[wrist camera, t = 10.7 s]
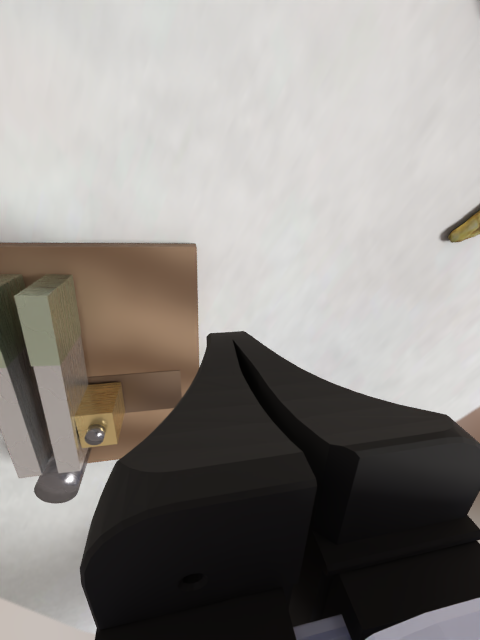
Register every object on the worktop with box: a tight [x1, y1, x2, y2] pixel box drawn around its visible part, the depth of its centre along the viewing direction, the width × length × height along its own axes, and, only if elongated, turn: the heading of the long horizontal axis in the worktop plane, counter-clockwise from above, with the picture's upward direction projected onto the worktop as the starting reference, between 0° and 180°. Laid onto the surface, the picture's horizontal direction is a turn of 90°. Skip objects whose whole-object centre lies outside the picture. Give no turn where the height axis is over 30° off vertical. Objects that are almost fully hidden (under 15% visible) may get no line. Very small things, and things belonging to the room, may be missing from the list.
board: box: [0, 243, 199, 463], centre depth 20 cm, size 16×12×1 cm
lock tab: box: [74, 382, 125, 448], centre depth 18 cm, size 2×2×4 cm
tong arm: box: [14, 274, 89, 473], centre depth 17 cm, size 11×1×4 cm, turn 176°
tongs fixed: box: [0, 274, 92, 503], centre depth 17 cm, size 14×3×4 cm, turn 178°
